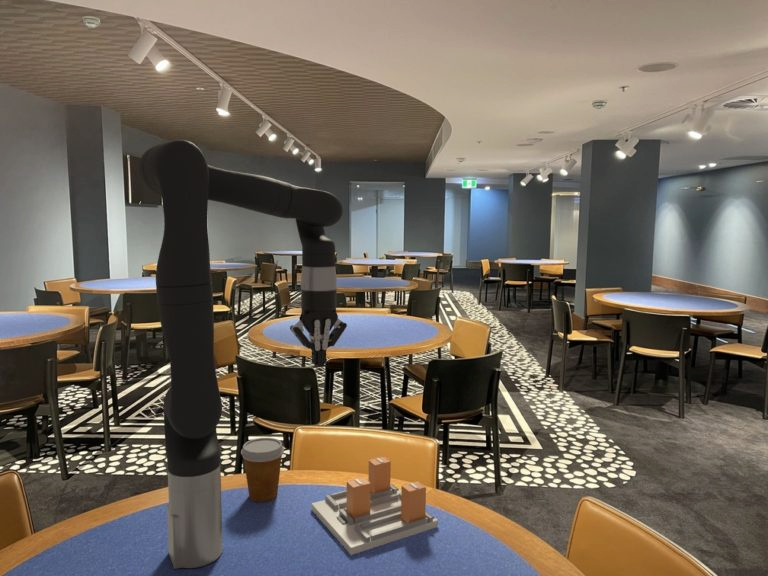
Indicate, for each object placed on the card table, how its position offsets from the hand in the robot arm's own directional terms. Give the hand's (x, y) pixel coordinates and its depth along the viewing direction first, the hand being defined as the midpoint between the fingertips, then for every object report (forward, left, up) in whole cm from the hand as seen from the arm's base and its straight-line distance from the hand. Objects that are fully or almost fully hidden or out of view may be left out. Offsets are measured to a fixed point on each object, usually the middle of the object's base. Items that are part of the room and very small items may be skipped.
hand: (319, 366), depth 120 cm
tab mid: (+4, -12, -29) cm, 32 cm away
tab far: (+12, -5, -29) cm, 32 cm away
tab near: (+12, -19, -29) cm, 37 cm away
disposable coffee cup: (-10, +9, -31) cm, 34 cm away
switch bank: (+7, -12, -31) cm, 34 cm away
